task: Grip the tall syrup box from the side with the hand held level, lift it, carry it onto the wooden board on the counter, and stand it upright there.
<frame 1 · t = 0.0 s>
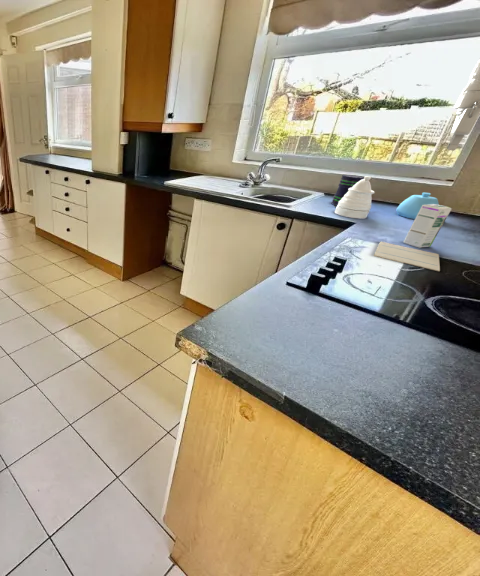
hand: (450, 149, 107), 32 cm above the countertop, tool pointing down, fingers open, 8 cm apart
sugar bowl: (413, 217, 155), on the countertop
syrup box: (415, 245, 117), on the countertop
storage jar: (341, 205, 172), on the countertop
wooden board: (406, 255, 107), on the countertop
honey pot: (349, 215, 153), on the countertop
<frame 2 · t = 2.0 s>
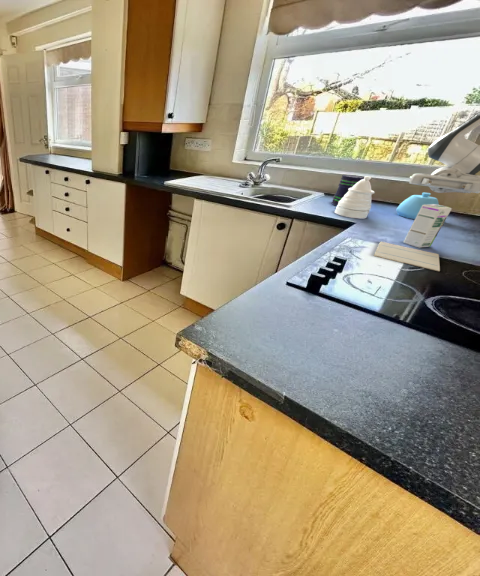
hand: (446, 185, 115), 20 cm above the countertop, tool horizontal, fingers open, 8 cm apart
nothing on the countertop moved.
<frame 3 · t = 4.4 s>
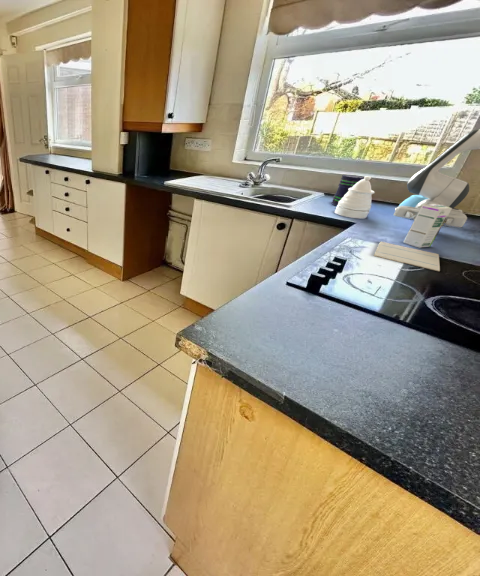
hand: (428, 219, 119), 8 cm above the countertop, tool horizontal, fingers open, 8 cm apart
nothing on the countertop moved.
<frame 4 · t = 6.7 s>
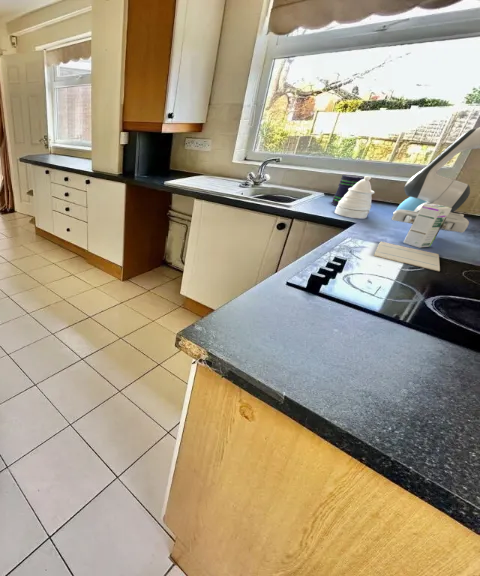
hand: (427, 224, 113), 8 cm above the countertop, tool horizontal, fingers closed on syrup box, 7 cm apart
syrup box: (415, 245, 117), on the countertop, touching gripper
everything else where it was.
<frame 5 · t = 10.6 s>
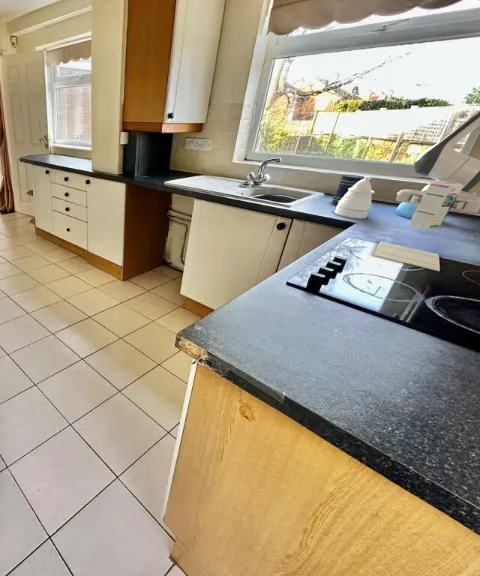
hand: (436, 203, 101), 17 cm above the countertop, tool horizontal, fingers closed on syrup box, 7 cm apart
syrup box: (422, 227, 106), point 9 cm above the countertop, touching gripper
everything else where it was.
when the fingers open (8 cm above the countertop, at t = 14.4 s): syrup box stays where it is, resting on wooden board.
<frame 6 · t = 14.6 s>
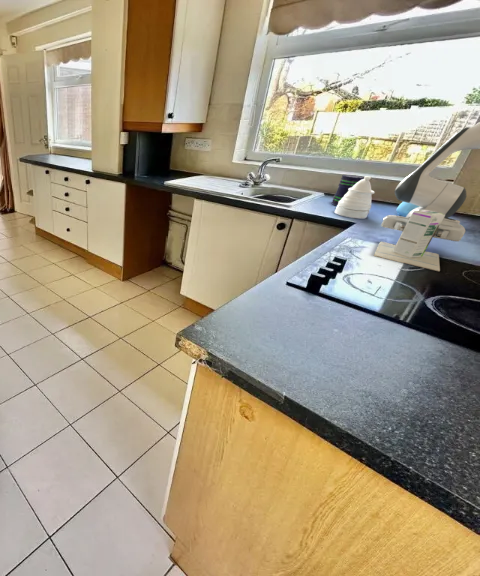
hand: (420, 231, 102), 8 cm above the countertop, tool horizontal, fingers open, 8 cm apart
syrup box: (406, 254, 107), resting on wooden board, touching gripper
everything else where it was.
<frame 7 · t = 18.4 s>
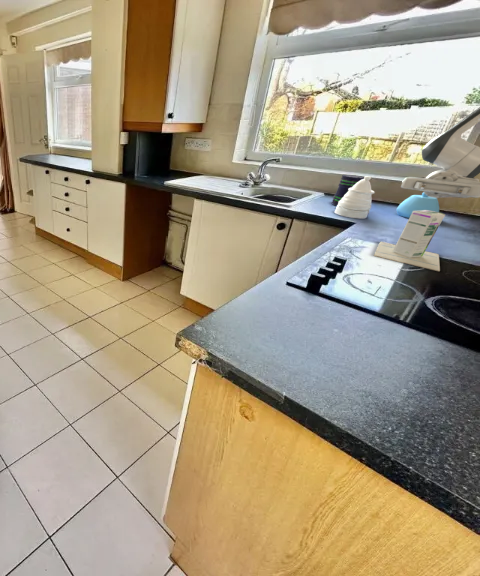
hand: (441, 189, 104), 21 cm above the countertop, tool horizontal, fingers open, 8 cm apart
syrup box: (406, 254, 107), resting on wooden board
everything else where it was.
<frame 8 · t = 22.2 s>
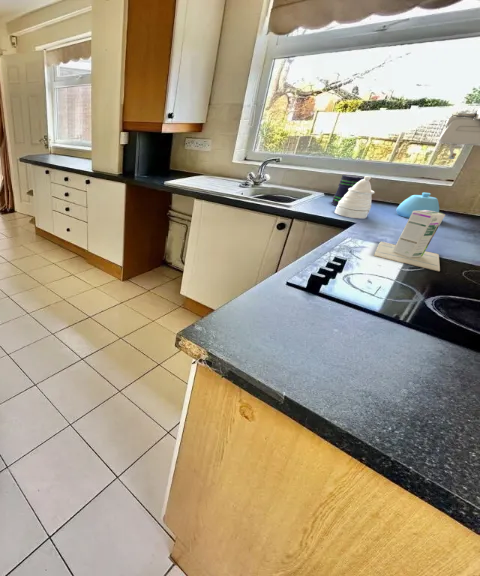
hand: (469, 160, 107), 29 cm above the countertop, tool pointing down, fingers open, 8 cm apart
nothing on the countertop moved.
at the end: syrup box inside the target area on the wooden board (0.2 cm from its centre), point 0.1 cm above the wooden board's base; syrup box tilted 0°; the gripper is holding nothing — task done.
